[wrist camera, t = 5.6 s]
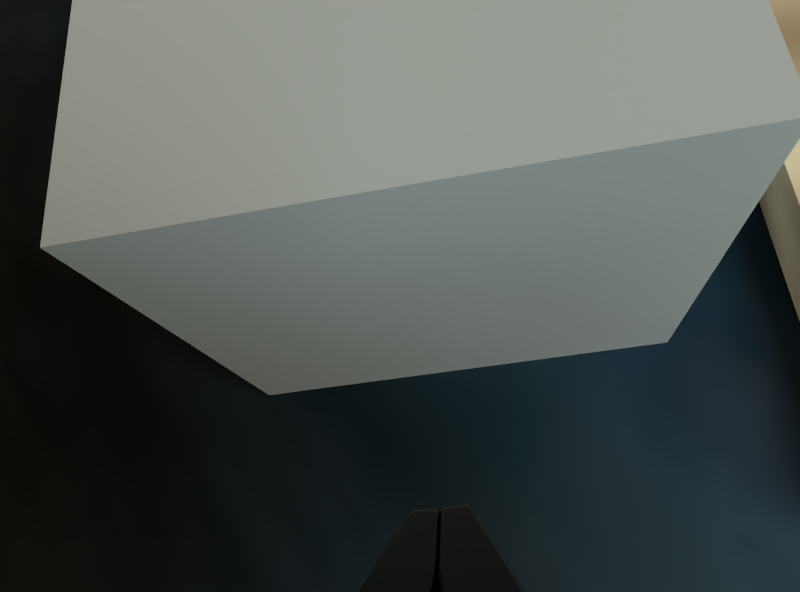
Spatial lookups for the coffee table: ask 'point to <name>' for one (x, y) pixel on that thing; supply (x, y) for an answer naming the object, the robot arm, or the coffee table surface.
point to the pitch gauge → (787, 172)
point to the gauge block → (412, 173)
